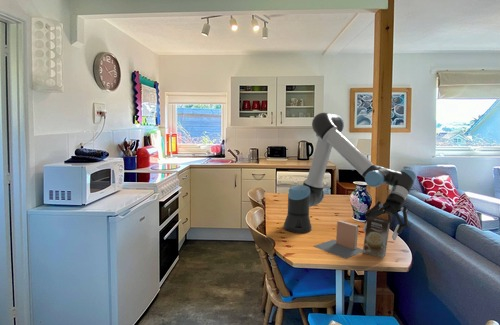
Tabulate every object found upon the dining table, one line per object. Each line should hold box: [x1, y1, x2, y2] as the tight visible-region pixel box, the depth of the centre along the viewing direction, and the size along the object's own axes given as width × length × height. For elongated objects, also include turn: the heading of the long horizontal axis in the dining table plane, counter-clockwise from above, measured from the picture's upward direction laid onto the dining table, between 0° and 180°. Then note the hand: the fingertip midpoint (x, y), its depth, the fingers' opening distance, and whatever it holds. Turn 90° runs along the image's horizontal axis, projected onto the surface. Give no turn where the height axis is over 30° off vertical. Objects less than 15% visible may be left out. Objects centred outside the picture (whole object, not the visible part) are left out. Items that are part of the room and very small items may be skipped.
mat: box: [312, 239, 363, 260], centre depth 155 cm, size 18×16×1 cm
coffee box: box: [362, 216, 391, 259], centre depth 149 cm, size 9×6×16 cm
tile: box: [335, 220, 359, 249], centre depth 158 cm, size 10×2×11 cm, turn 40°
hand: (378, 234), depth 149 cm, fingers open, 13 cm apart
